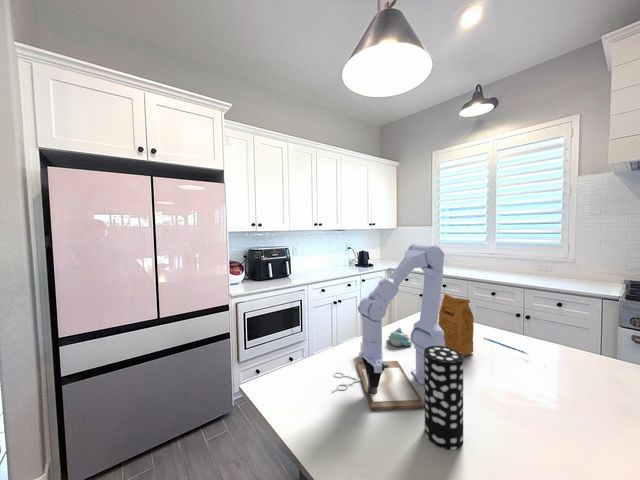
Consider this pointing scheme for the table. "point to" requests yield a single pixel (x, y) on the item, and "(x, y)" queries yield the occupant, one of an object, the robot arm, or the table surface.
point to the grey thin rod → (504, 345)
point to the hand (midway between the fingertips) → (372, 383)
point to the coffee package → (457, 324)
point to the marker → (371, 390)
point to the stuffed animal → (399, 338)
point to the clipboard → (391, 389)
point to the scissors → (345, 384)
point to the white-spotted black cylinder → (443, 396)
